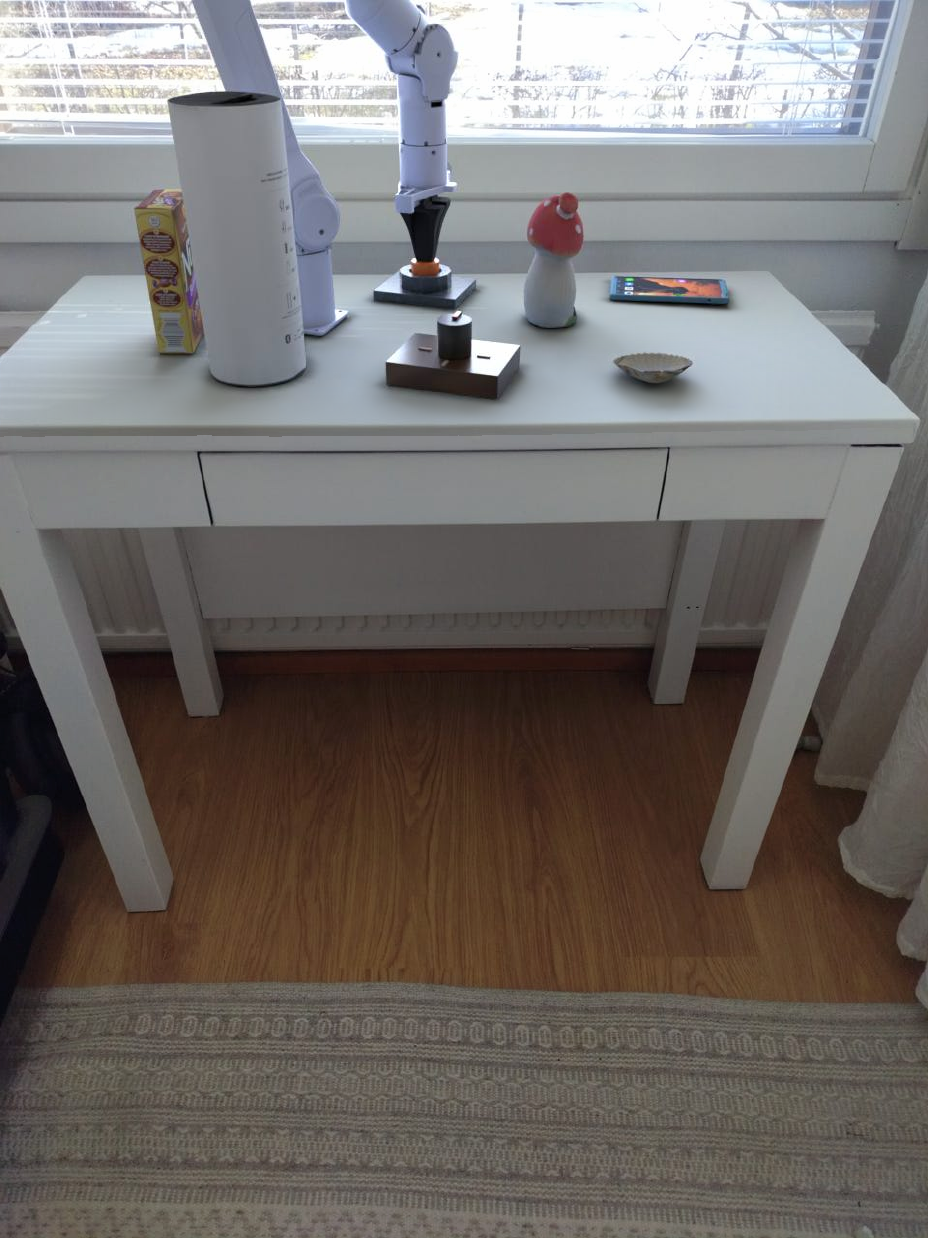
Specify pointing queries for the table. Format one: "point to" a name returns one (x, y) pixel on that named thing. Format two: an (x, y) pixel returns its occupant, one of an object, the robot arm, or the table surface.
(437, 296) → the switch base
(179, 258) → the candy box
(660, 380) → the seashell
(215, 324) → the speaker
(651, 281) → the smartphone
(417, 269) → the switch
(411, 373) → the dial panel
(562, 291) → the decorative ornament
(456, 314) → the dial
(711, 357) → the table surface
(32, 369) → the table surface
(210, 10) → the robot arm
